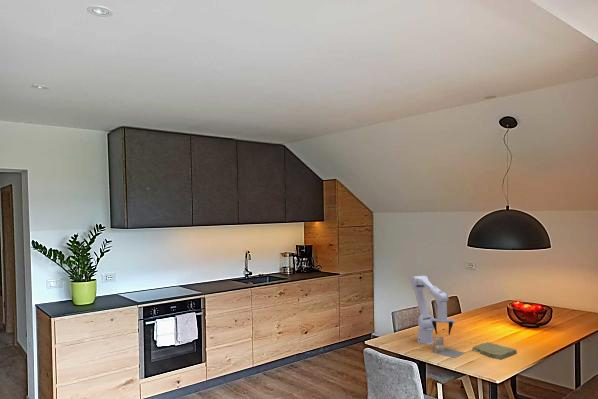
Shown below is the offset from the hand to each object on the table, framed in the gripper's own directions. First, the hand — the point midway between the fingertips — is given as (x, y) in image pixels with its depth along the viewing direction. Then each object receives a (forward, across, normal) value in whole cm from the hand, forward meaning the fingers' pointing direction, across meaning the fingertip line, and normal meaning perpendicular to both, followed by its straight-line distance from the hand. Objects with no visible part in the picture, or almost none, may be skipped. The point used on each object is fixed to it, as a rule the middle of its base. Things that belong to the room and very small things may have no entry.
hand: (442, 334), depth 281 cm
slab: (+10, -2, -4) cm, 11 cm away
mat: (+10, +3, -5) cm, 12 cm away
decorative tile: (+11, +29, +2) cm, 31 cm away
